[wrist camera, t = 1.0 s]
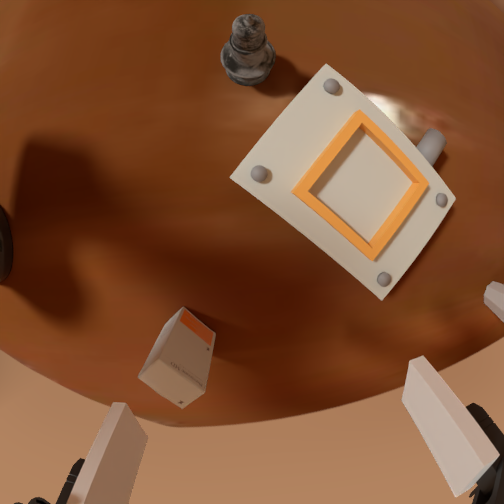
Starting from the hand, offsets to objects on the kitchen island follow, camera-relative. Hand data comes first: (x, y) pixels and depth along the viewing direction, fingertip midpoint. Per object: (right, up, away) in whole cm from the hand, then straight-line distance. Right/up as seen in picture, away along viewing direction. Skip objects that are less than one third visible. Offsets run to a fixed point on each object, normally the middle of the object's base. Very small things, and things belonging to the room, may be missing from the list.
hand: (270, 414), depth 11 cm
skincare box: (-9, -3, +26) cm, 27 cm away
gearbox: (+12, +17, +20) cm, 29 cm away
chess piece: (-1, +29, +17) cm, 34 cm away
